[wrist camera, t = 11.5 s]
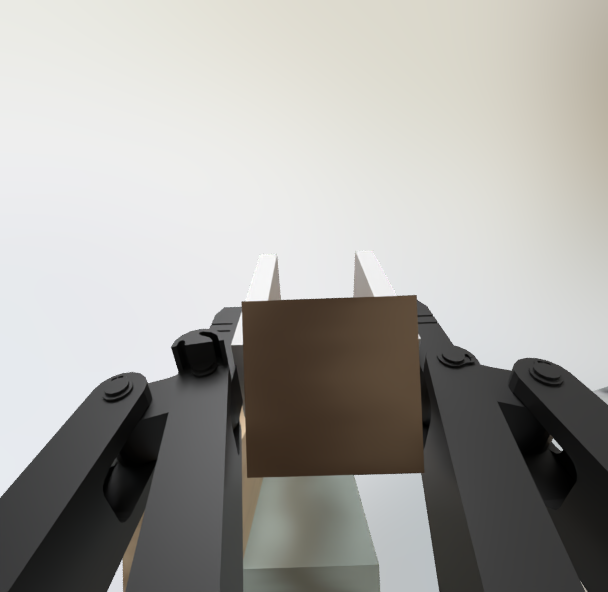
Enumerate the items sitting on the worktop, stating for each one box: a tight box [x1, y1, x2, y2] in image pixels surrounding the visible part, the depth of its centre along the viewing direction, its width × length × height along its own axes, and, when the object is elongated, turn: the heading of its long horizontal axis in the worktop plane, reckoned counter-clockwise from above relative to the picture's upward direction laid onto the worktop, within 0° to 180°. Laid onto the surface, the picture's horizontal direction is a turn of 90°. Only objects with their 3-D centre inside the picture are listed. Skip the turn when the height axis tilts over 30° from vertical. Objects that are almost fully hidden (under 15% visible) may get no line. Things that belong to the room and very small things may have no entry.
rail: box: [242, 295, 424, 478], centre depth 18 cm, size 4×24×4 cm, turn 179°
